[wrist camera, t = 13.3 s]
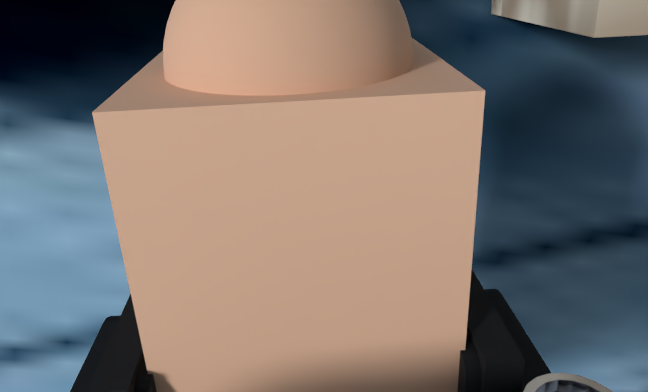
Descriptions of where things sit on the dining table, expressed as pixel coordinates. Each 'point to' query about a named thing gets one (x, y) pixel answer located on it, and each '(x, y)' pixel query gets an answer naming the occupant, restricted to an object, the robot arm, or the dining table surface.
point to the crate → (580, 15)
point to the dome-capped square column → (296, 199)
